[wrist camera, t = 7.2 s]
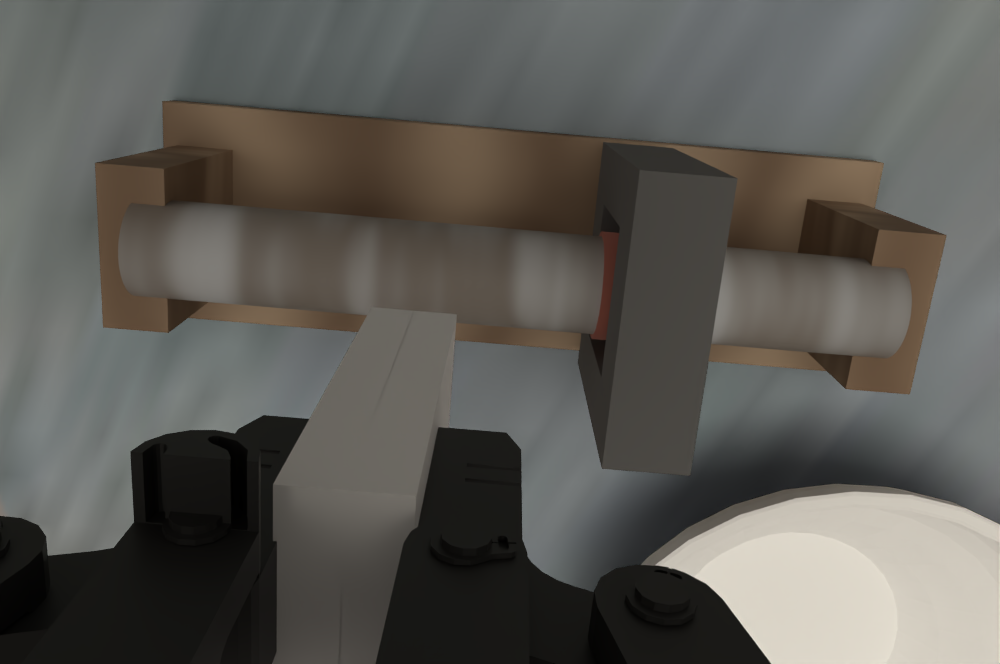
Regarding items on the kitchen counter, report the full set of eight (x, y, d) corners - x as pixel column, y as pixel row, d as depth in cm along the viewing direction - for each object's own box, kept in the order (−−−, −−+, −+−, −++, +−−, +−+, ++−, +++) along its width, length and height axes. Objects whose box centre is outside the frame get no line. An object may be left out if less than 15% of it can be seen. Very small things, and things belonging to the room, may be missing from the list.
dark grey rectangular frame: (578, 362, 32) (602, 468, 24) (603, 141, 30) (640, 170, 21) (642, 367, 32) (690, 475, 24) (672, 147, 30) (737, 178, 21)
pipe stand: (177, 309, 34) (71, 384, 26) (172, 100, 32) (54, 110, 24) (831, 363, 35) (931, 455, 26) (872, 160, 32) (996, 190, 24)
